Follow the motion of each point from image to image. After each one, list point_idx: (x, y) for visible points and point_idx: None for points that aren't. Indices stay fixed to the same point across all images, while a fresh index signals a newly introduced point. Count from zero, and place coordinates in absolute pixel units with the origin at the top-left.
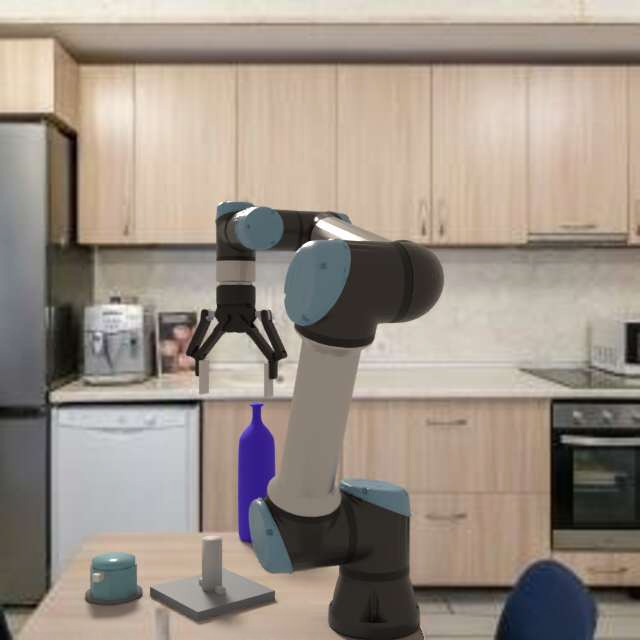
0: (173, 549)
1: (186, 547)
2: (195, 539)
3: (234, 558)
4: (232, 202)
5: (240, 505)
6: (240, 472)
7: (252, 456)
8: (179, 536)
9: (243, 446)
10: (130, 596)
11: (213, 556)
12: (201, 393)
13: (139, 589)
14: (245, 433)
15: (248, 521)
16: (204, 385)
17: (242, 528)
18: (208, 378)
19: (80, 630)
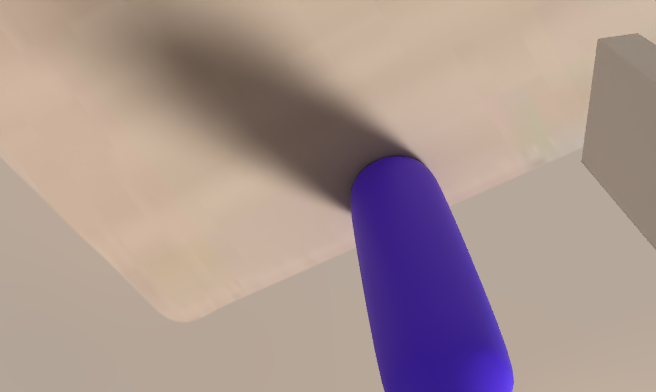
0: (547, 19)
1: (521, 50)
2: (529, 115)
3: (358, 31)
4: None
5: (436, 205)
6: (460, 265)
7: (425, 305)
8: (580, 117)
9: (471, 328)
10: None
11: None
12: (613, 39)
13: None
14: (484, 377)
15: (400, 180)
16: (633, 117)
17: (416, 170)
18: (651, 234)
19: None
